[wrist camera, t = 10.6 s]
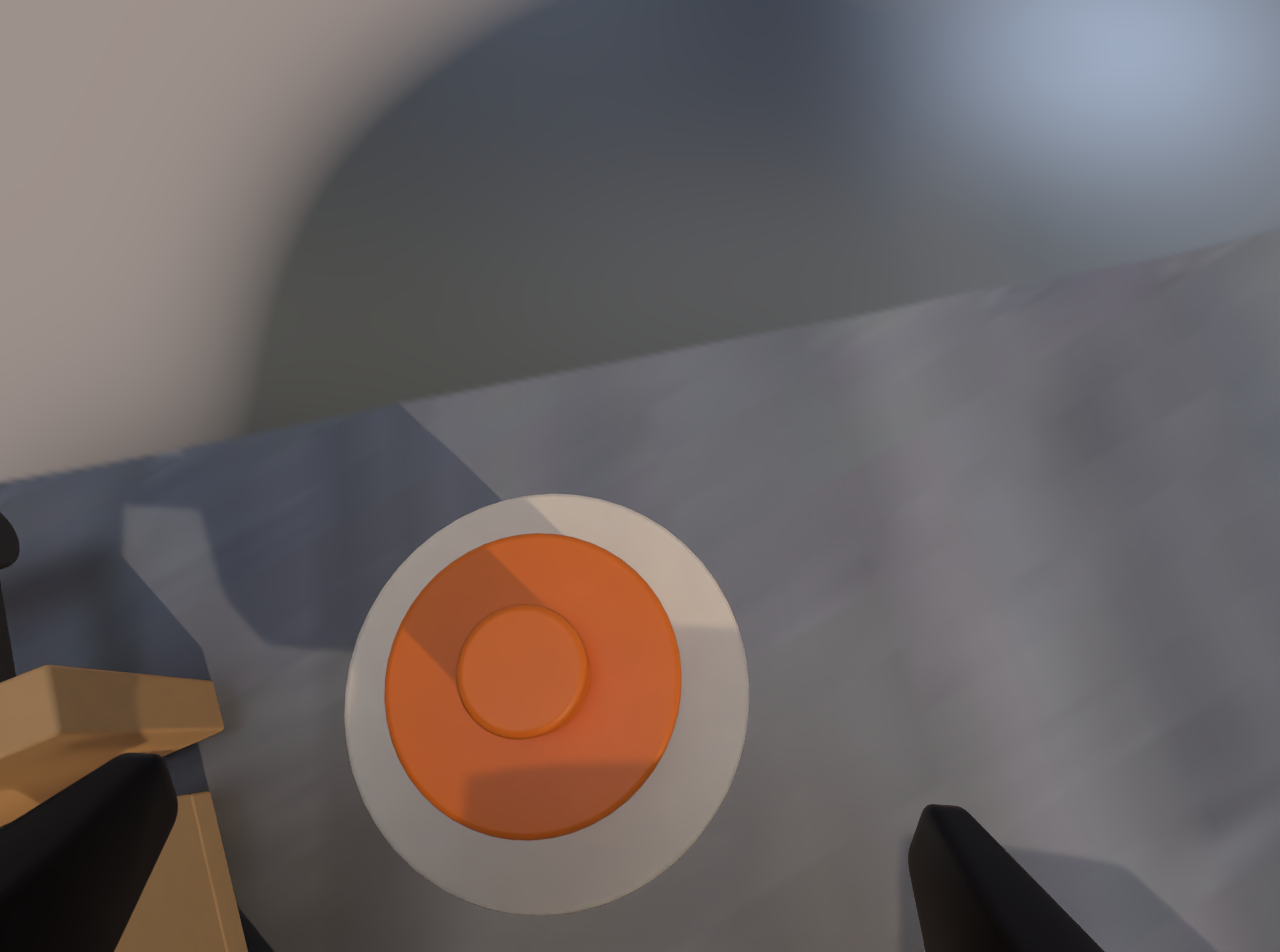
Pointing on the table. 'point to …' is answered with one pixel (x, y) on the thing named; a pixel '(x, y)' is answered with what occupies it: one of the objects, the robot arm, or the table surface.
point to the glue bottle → (546, 704)
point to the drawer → (93, 735)
